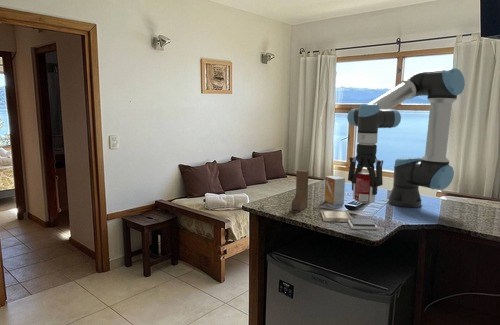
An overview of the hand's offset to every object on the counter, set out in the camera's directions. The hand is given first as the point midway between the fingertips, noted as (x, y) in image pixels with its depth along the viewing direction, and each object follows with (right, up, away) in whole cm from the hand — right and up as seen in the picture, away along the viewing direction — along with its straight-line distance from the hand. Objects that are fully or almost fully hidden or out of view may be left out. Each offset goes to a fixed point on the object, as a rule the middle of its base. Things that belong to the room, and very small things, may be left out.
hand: (363, 200), depth 143 cm
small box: (-3, -5, +37) cm, 37 cm away
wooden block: (-22, -7, +26) cm, 35 cm away
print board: (-8, -9, +13) cm, 18 cm away
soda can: (0, -1, 0) cm, 1 cm away
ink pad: (0, -11, +2) cm, 11 cm away
